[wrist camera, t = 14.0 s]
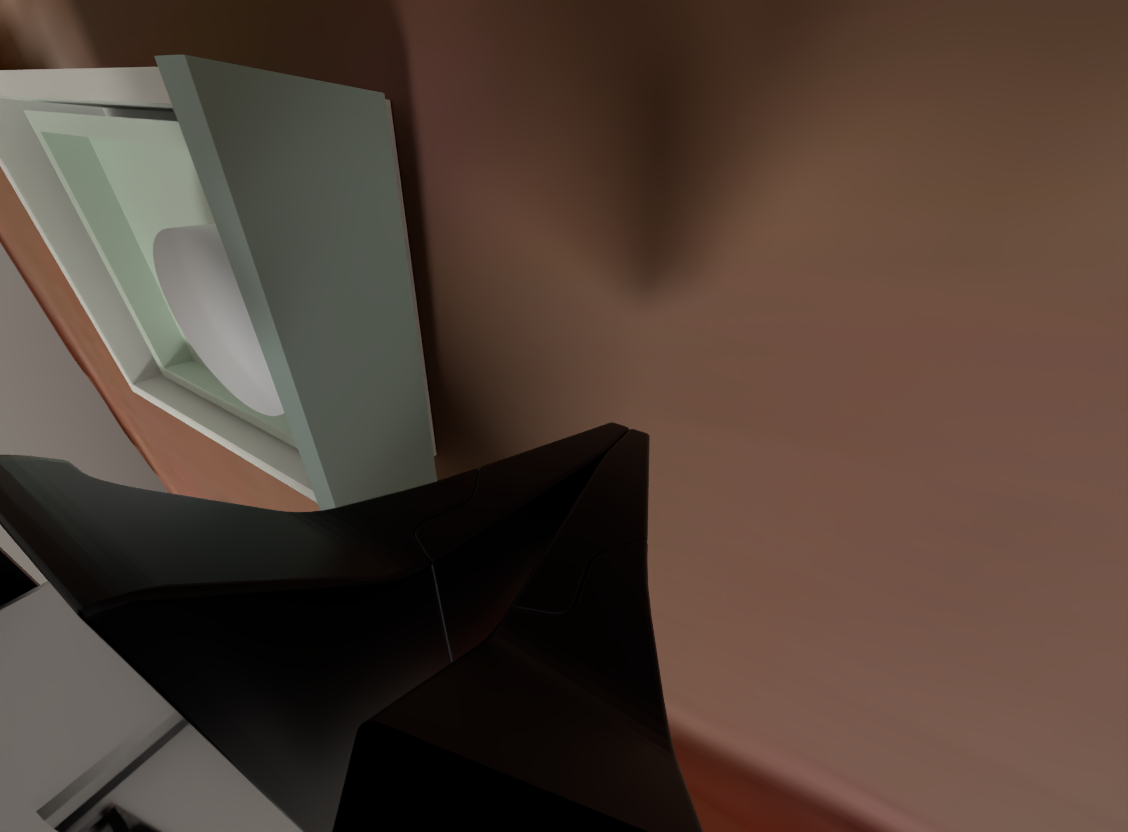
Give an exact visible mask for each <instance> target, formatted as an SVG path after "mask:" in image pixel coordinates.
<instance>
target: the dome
mask: <svg viewBox="0 0 1128 832" xmlns="http://www.w3.org/2000/svg"><path fill="white" fill-rule="evenodd" d="M153 258H154V265H155V270H156V273H157V277H158V280H159V283H160V286H161V289H162V292H163V294H164V296H165V299H166V301H167V303H168V305H169V307H170V310H171V312H172V314H173V315H174V317H175V319H176V321H177V323H178V325H179V326H180V328H181V330H182V332H183V333H184V335H185V336H186V338H187V340H188V341H189V343H190V344H191V346H192V347H193V349H194V350H195V351H196V353H197V354H198V356H199V357H200V358H201V360H202V361H203V362H204V364H205V365H206V366H207V367H208V368H209V370H210V371H211V372H212V373H213V374H214V376H215V377H216V378H217V379H218V380H219V381H220V382H221V383H222V384H223V385H224V386H225V387H226V388H227V389H228V390H229V391H230V392H231V393H232V394H233V395H234V396H235V397H237V398H238V399H239V400H240V401H242V402H243V403H244V404H246V405H247V406H248V407H250V408H252V409H253V410H255V411H257V412H259V413H261V414H264V415H268V416H279V415H281V414H283V413H284V410H283V407H282V405H281V402H280V399H279V396H278V394H277V391H276V388H275V385H274V383H273V380H272V377H271V374H270V372H269V369H268V366H267V363H266V361H265V358H264V355H263V353H262V350H261V347H260V344H259V342H258V339H257V336H256V333H255V331H254V328H253V325H252V322H251V320H250V317H249V314H248V311H247V309H246V306H245V303H244V301H243V298H242V295H241V292H240V290H239V287H238V284H237V281H236V279H235V276H234V273H233V270H232V268H231V265H230V262H229V260H228V257H227V254H226V251H225V249H224V246H223V243H222V240H221V238H220V235H219V232H218V229H217V227H216V224H215V223H213V224H203V225H193V226H184V227H174V228H166V229H162V230H161V231H160V232H158V234H157V235H156V237H155V240H154V243H153Z"/></svg>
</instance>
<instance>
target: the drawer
mask: <svg viewBox="0 0 1128 832" xmlns="http://www.w3.org/2000/svg"><path fill="white" fill-rule="evenodd" d="M154 57H155V60H156V63H157V65H158V68H159V71H160V73H161V76H162V79H163V82H164V84H165V87H166V90H167V93H168V95H169V98H170V101H171V104H172V106H173V109H174V112H175V115H176V117H177V120H178V122H177V121H164V120H150V119H137V118H124V117H110V116H97V115H84V114H70V113H57V112H44V111H30V110H23V111H24V113H25V114H26V116H27V118H28V120H29V122H30V124H31V126H32V128H33V130H34V131H35V133H36V135H37V137H38V139H39V141H40V143H41V145H42V147H43V149H44V150H45V152H46V154H47V156H48V158H49V160H50V162H51V164H52V166H53V167H54V169H55V171H56V173H57V175H58V177H59V179H60V181H61V183H62V185H63V186H64V188H65V190H66V192H67V194H68V196H69V198H70V200H71V202H72V204H73V205H74V207H75V209H76V211H77V213H78V215H79V217H80V219H81V221H82V222H83V224H84V226H85V228H86V230H87V232H88V234H89V236H90V238H91V240H92V241H93V243H94V245H95V247H96V249H97V251H98V253H99V255H100V257H101V258H102V260H103V262H104V264H105V266H106V268H107V270H108V272H109V274H110V276H111V277H112V279H113V281H114V283H115V285H116V287H117V289H118V291H119V293H120V294H121V296H122V298H123V300H124V302H125V304H126V306H127V308H128V310H129V312H130V313H131V315H132V317H133V319H134V321H135V323H136V325H137V327H138V329H139V330H140V332H141V334H142V336H143V338H144V340H145V342H146V344H147V346H148V348H149V349H150V351H151V353H152V355H153V357H154V359H155V361H156V363H157V365H158V366H159V368H160V370H161V372H162V374H163V376H164V377H166V378H168V379H170V380H172V381H174V382H175V383H177V384H179V385H181V386H183V387H185V388H187V389H188V390H190V391H192V392H194V393H196V394H198V395H199V396H201V397H203V398H205V399H207V400H209V401H210V402H212V403H214V404H216V405H218V406H220V407H221V408H223V409H225V410H227V411H229V412H231V413H233V414H234V415H236V416H238V417H240V418H242V419H244V420H245V421H247V422H249V423H251V424H253V425H255V426H256V427H258V428H260V429H262V430H264V431H266V432H267V433H269V434H271V435H273V436H275V437H277V438H279V439H280V440H282V441H284V442H286V443H288V444H290V445H291V446H293V447H295V448H297V449H298V451H299V454H300V456H301V459H302V462H303V465H304V467H305V470H306V473H307V476H308V478H309V481H310V484H311V487H312V489H313V492H314V495H315V498H316V500H317V503H318V506H319V508H320V511H322V510H327V509H332V508H336V507H340V506H344V505H348V504H352V503H356V502H360V501H364V500H368V499H372V498H375V497H379V496H383V495H387V494H391V493H395V492H399V491H403V490H407V489H410V488H414V487H418V486H421V485H425V484H429V483H432V482H436V481H437V475H436V468H435V461H434V453H433V446H432V439H431V432H430V424H429V417H428V410H427V402H426V395H425V388H424V380H423V373H422V366H421V358H420V351H419V344H418V336H417V329H416V322H415V314H414V307H413V300H412V292H411V285H410V278H409V270H408V263H407V256H406V248H405V241H404V234H403V226H402V219H401V212H400V204H399V197H398V190H397V182H396V175H395V168H394V160H393V153H392V146H391V138H390V131H389V124H388V117H387V109H386V102H385V95H384V93H382V92H376V91H371V90H366V89H361V88H356V87H350V86H345V85H340V84H335V83H330V82H324V81H319V80H314V79H309V78H304V77H299V76H293V75H288V74H283V73H278V72H273V71H267V70H262V69H257V68H252V67H247V66H242V65H236V64H231V63H226V62H221V61H216V60H210V59H205V58H200V57H195V56H190V55H185V54H183V55H161V56H154ZM213 223H215V224H216V227H217V229H218V232H219V235H220V238H221V240H222V243H223V246H224V249H225V251H226V254H227V257H228V260H229V262H230V265H231V268H232V270H233V273H234V276H235V279H236V281H237V284H238V287H239V290H240V292H241V295H242V298H243V301H244V303H245V306H246V309H247V311H248V314H249V317H250V320H251V322H252V325H253V328H254V331H255V333H256V336H257V339H258V342H259V344H260V347H261V350H262V353H263V355H264V358H265V361H266V363H267V366H268V369H269V372H270V374H271V377H272V380H273V383H274V385H275V388H276V391H277V394H278V396H279V399H280V402H281V405H282V407H283V410H284V413H283V414H281V415H279V416H268V415H264V414H261V413H259V412H257V411H255V410H253V409H252V408H250V407H248V406H247V405H246V404H244V403H243V402H242V401H240V400H239V399H238V398H237V397H235V396H234V395H233V394H232V393H231V392H230V391H229V390H228V389H227V388H226V387H225V386H224V385H223V384H222V383H221V382H220V381H219V380H218V379H217V378H216V377H215V376H214V374H213V373H212V372H211V371H210V370H209V368H208V367H207V366H206V365H205V364H204V362H203V361H202V360H201V358H200V357H199V356H198V354H197V353H196V351H195V350H194V349H193V347H192V346H191V344H190V343H189V341H188V340H187V338H186V336H185V335H184V333H183V332H182V330H181V328H180V326H179V325H178V323H177V321H176V319H175V317H174V315H173V314H172V312H171V310H170V307H169V305H168V303H167V301H166V299H165V296H164V294H163V292H162V289H161V286H160V283H159V280H158V277H157V273H156V270H155V265H154V258H153V243H154V240H155V237H156V235H157V234H158V232H160V231H161V230H162V229H166V228H174V227H184V226H193V225H203V224H213Z"/></svg>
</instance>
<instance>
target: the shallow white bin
mask: <svg viewBox="0 0 1128 832" xmlns="http://www.w3.org/2000/svg"><path fill="white" fill-rule="evenodd" d="M385 102H386V109H387V117H388V124H389V131H390V138H391V146H392V153H393V160H394V168H395V175H396V182H397V190H398V197H399V204H400V212H401V219H402V226H403V234H404V241H405V248H406V256H407V263H408V270H409V278H410V285H411V292H412V300H413V307H414V314H415V322H416V329H417V336H418V344H419V351H420V358H421V366H422V373H423V380H424V388H425V395H426V402H427V410H428V417H429V424H430V432H431V439H432V446H433V453H434V456H436V455H437V454H436V446H435V439H434V431H433V424H432V416H431V408H430V401H429V393H428V386H427V378H426V370H425V363H424V355H423V348H422V340H421V332H420V325H419V317H418V309H417V302H416V294H415V287H414V279H413V271H412V264H411V256H410V249H409V241H408V233H407V226H406V218H405V211H404V203H403V195H402V188H401V180H400V173H399V165H398V157H397V150H396V142H395V135H394V127H393V119H392V112H391V104H390V100H388V99H385ZM23 110H30V111H44V112H57V113H70V114H84V115H97V116H110V117H124V118H137V119H150V120H164V121H177V122H178V120H177V117H176V115H175V112H174V109H173V106H172V104H171V101H170V98H169V95H168V93H167V90H166V87H165V84H164V82H163V79H162V76H161V73H160V71H159V68H158V67H123V68H81V69H39V70H0V166H1V168H2V170H3V171H4V173H5V175H6V176H7V178H8V180H9V181H10V183H11V185H12V187H13V188H14V190H15V192H16V193H17V195H18V197H19V199H20V200H21V202H22V204H23V205H24V207H25V209H26V210H27V212H28V214H29V216H30V217H31V219H32V221H33V222H34V224H35V226H36V227H37V229H38V231H39V233H40V234H41V236H42V238H43V239H44V241H45V243H46V244H47V246H48V248H49V250H50V251H51V253H52V255H53V256H54V258H55V260H56V261H57V263H58V265H59V267H60V268H61V270H62V272H63V273H64V275H65V277H66V278H67V280H68V282H69V284H70V285H71V287H72V289H73V290H74V292H75V294H76V296H77V297H78V299H79V301H80V302H81V304H82V306H83V307H84V309H85V311H86V313H87V314H88V316H89V318H90V319H91V321H92V323H93V324H94V326H95V328H96V330H97V331H98V333H99V335H100V336H101V338H102V340H103V341H104V343H105V345H106V347H107V348H108V350H109V352H110V353H111V355H112V357H113V358H114V360H115V362H116V364H117V365H118V367H119V369H120V370H121V372H122V374H123V375H124V377H125V379H126V381H127V382H128V384H129V386H130V387H131V389H132V391H133V392H135V393H136V394H138V395H140V396H141V397H143V398H145V399H146V400H148V401H150V402H151V403H153V404H155V405H156V406H158V407H160V408H161V409H163V410H165V411H166V412H168V413H170V414H171V415H173V416H174V417H176V418H178V419H179V420H181V421H183V422H184V423H186V424H188V425H189V426H191V427H193V428H194V429H196V430H198V431H199V432H201V433H203V434H204V435H206V436H207V437H209V438H211V439H212V440H214V441H216V442H217V443H219V444H221V445H222V446H224V447H226V448H227V449H229V450H231V451H232V452H234V453H236V454H237V455H239V456H241V457H242V458H244V459H245V460H247V461H249V462H250V463H252V464H254V465H255V466H257V467H259V468H260V469H262V470H264V471H265V472H267V473H269V474H270V475H272V476H274V477H275V478H277V479H278V480H280V481H282V482H283V483H285V484H287V485H288V486H290V487H292V488H293V489H295V490H297V491H298V492H300V493H302V494H303V495H305V496H307V497H308V498H310V499H312V500H313V501H315V502H316V503H317V500H316V498H315V495H314V492H313V489H312V487H311V484H310V481H309V478H308V476H307V473H306V470H305V467H304V465H303V462H302V459H301V456H300V454H299V451H298V449H297V448H295V447H293V446H291V445H290V444H288V443H286V442H284V441H282V440H280V439H279V438H277V437H275V436H273V435H271V434H269V433H267V432H266V431H264V430H262V429H260V428H258V427H256V426H255V425H253V424H251V423H249V422H247V421H245V420H244V419H242V418H240V417H238V416H236V415H234V414H233V413H231V412H229V411H227V410H225V409H223V408H221V407H220V406H218V405H216V404H214V403H212V402H210V401H209V400H207V399H205V398H203V397H201V396H199V395H198V394H196V393H194V392H192V391H190V390H188V389H187V388H185V387H183V386H181V385H179V384H177V383H175V382H174V381H172V380H170V379H168V378H166V377H164V376H163V374H162V372H161V370H160V368H159V366H158V365H157V363H156V361H155V359H154V357H153V355H152V353H151V351H150V349H149V348H148V346H147V344H146V342H145V340H144V338H143V336H142V334H141V332H140V330H139V329H138V327H137V325H136V323H135V321H134V319H133V317H132V315H131V313H130V312H129V310H128V308H127V306H126V304H125V302H124V300H123V298H122V296H121V294H120V293H119V291H118V289H117V287H116V285H115V283H114V281H113V279H112V277H111V276H110V274H109V272H108V270H107V268H106V266H105V264H104V262H103V260H102V258H101V257H100V255H99V253H98V251H97V249H96V247H95V245H94V243H93V241H92V240H91V238H90V236H89V234H88V232H87V230H86V228H85V226H84V224H83V222H82V221H81V219H80V217H79V215H78V213H77V211H76V209H75V207H74V205H73V204H72V202H71V200H70V198H69V196H68V194H67V192H66V190H65V188H64V186H63V185H62V183H61V181H60V179H59V177H58V175H57V173H56V171H55V169H54V167H53V166H52V164H51V162H50V160H49V158H48V156H47V154H46V152H45V150H44V149H43V147H42V145H41V143H40V141H39V139H38V137H37V135H36V133H35V131H34V130H33V128H32V126H31V124H30V122H29V120H28V118H27V116H26V114H25V113H24V111H23Z"/></svg>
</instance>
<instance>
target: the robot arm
mask: <svg viewBox="0 0 1128 832" xmlns="http://www.w3.org/2000/svg"><path fill="white" fill-rule="evenodd" d="M648 486H649V435H648V434H647V433H644V432H641V431H638V430H635V429H630V430H629V428H628V427H625V426H622V425H619V424H616V423H608V424H605V425H602V426H599V427H596V428H593V429H591V430H588V431H585V432H582V433H579V434H576V435H573V436H570V437H567V438H564V439H561V440H558V441H555V442H552V443H549V444H546V445H543V446H541V447H538V448H535V449H532V450H529V451H526V452H523V453H520V454H517V455H514V456H511V457H508V458H505V459H502V460H499V461H496V462H493V463H491V464H488V465H485V466H482V467H480V468H479V469H477V468H476V469H473V470H470V471H467V472H464V473H461V474H458V475H455V476H451V477H448V478H445V479H442V480H439V481H436V482H432V483H429V484H425V485H421V486H418V487H414V488H410V489H407V490H403V491H399V492H395V493H391V494H387V495H383V496H379V497H375V498H372V499H368V500H364V501H360V502H356V503H352V504H348V505H344V506H340V507H336V508H332V509H327V510H322V511H314V512H284V511H276V510H270V509H264V508H258V507H251V506H245V505H239V504H233V503H226V502H220V501H214V500H208V499H202V498H195V497H189V496H183V495H177V494H171V493H164V492H157V491H151V490H145V489H140V488H135V487H129V486H124V485H119V484H115V483H111V482H107V481H103V480H99V479H97V478H94V477H91V476H88V475H87V474H85V473H83V472H81V471H80V470H79V469H78V468H77V467H75V466H74V465H73V464H71V463H70V462H68V461H65V460H59V459H50V458H42V457H33V456H23V455H22V456H21V455H0V524H1V526H2V527H3V528H4V529H5V530H6V531H7V533H8V534H9V535H10V536H11V537H12V539H13V540H14V541H15V542H16V543H17V545H19V547H20V548H21V549H22V550H23V552H24V553H25V554H26V555H27V556H28V557H29V559H30V560H31V561H32V562H33V563H34V565H35V566H36V567H37V568H38V569H39V570H40V572H41V573H42V574H43V575H44V576H45V578H46V579H47V580H48V582H46V583H44V584H42V585H40V584H39V583H37V582H36V581H35V580H34V579H33V578H32V577H31V576H30V575H29V574H28V573H27V572H26V571H25V570H24V569H23V568H22V567H21V566H19V564H18V563H16V562H15V561H14V560H13V559H12V558H11V557H10V556H9V555H8V554H7V553H6V552H5V551H4V550H3V549H2V548H1V547H0V832H703V829H702V826H701V823H700V821H699V818H698V815H697V813H696V810H695V807H694V804H693V802H692V799H691V796H690V794H689V791H688V788H687V786H686V783H685V780H684V777H683V775H682V772H681V769H680V767H679V764H678V761H677V758H676V754H675V750H674V746H673V742H672V738H671V734H670V729H669V724H668V719H667V714H666V709H665V703H664V697H663V691H662V684H661V677H660V671H659V664H658V657H657V651H656V644H655V637H654V630H653V624H652V617H651V608H650V599H649V590H648V568H647V551H648V544H647V539H648Z"/></svg>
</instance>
